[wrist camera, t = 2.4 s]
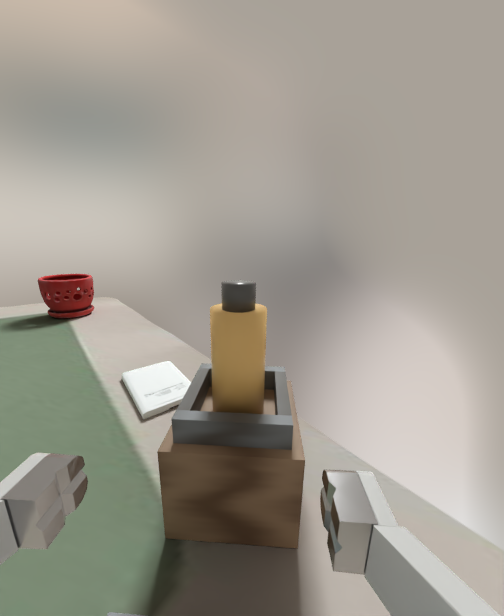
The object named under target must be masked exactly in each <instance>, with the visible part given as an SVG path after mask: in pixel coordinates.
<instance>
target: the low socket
mask: <svg viewBox="0 0 504 616" xmlns="http://www.w3.org/2000/svg"><path fill="white" fill-rule="evenodd" d="M107 616H146V615H135V614H124V613H114V612H108V615H107Z"/></svg>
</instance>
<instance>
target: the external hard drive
mask: <svg viewBox="0 0 504 616" xmlns="http://www.w3.org/2000/svg"><path fill="white" fill-rule="evenodd" d="M122 380H123V382H124V384H125V386H126V388H127V390H128V391H129V393H130V395H131V397H132V399H133V401H134V403H135V405H136V407H137V409H138V411H139V412H140V414H141V416H142V418H143V420H144V419H146V418H149V417H151V416H154V415H157V414H159V413H162V412H164V411H167V410H169V409H170V408H172V407H174V406H177V405H179V404H180V403H181V401H182V399H183V397H184V395H185V393H186V392H187V390H188V388H189V386H190V384H191V382H190V381H189V380H188V379H187V378H186V377H185V376H184V375H183V374H182V373H181V372H180V371H179V370H178V369H177V368H176V367H175V366H174V365H173V364H172V363H171V362H170V361H165V362H162V363H158V364H154V365H150V366H147V367H143V368H139V369H135V370H131V371H128V372H125V373H123V374H122Z"/></svg>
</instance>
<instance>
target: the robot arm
mask: <svg viewBox="0 0 504 616" xmlns="http://www.w3.org/2000/svg"><path fill="white" fill-rule="evenodd" d="M84 465H85V464H84V460H83V457H81V456H75V455H63V454H52V453H51V454H49V453H36V454H33V455H31V456H30V457H29V458H28V459H26V460H25V461H24V462H23V463H22V464H21V465H20V466H19V467H17V468H16V469H15V470H14V471H13V472H12V473H11V474H9V475H8V476H7V477H6V478H5V479H4V480H3V481H2V482H0V564H2V563H3V562H4V561H5V560H7V559H8V558H9V557H10V556H12V555H13V554H14V553H15V552H17V551H18V548H28V549H48V547H49V546H50V544H51V543H52V542H53V540H54V539H55V538H56V536H57V535H58V533H59V532H60V531H61V529H62V528H63V526H64V525H65V519H66V516H67V515H69V514H70V513H71V512H73V511H74V510H76V508H77V507H78V506H79V504H80V503H81V501H82V500H83V497H84V495H85V492H86V490H87V484H88V480H87V475H86V474H85V473H84V472H83V471H82V468H83V467H84ZM322 480H323V485H324V487H323V488H322V489H321V498H320V500H321V513H322V519H323V524H324V527H325V528H326V530H327V531H328V532H329V533H328V542H327V544H328V548H329V553H330V558H331V562H332V567H333V571H336V572H345V573H354V574H363V575H365V578H366V580H367V581H368V582H369V584H370V585H371V587H372V588H373V590H374V591H375V593H376V594H377V595H378V597H379V598H380V600H381V601H382V603H383V604H384V606H385V607H386V609H387V610H388V611H389V613H390V614H391V616H500V615H499V614H498V613H497V612H496V611H494V610H493V609H492V608H491V607H490V606H489V605H488V604H487V603H486V602H485V601H484V600H483V599H482V598H480V597H479V596H478V595H477V594H476V593H475V592H474V591H473V590H472V589H471V588H470V587H469V586H468V585H467V584H465V583H464V582H463V581H462V580H461V579H460V578H459V577H458V576H457V575H456V574H455V573H454V572H453V571H451V570H450V569H449V568H448V567H447V566H446V565H445V564H444V563H443V562H442V561H441V560H440V559H439V558H438V557H436V556H435V555H434V554H433V553H432V552H431V551H430V550H429V549H428V548H427V547H426V546H425V545H424V544H422V543H421V542H420V541H419V540H418V539H417V538H416V537H415V536H414V535H413V534H412V533H411V532H410V531H409V530H407V529H406V528H405V527H400V526H399V525H398V523H397V521H396V519H395V516H394V514H393V512H392V510H391V508H390V506H389V504H388V502H387V500H386V498H385V496H384V494H383V492H382V490H381V487H380V485H379V483H378V481H377V479H376V477H375V475H374V474H373V473H372V472H366V471H347V470H325V469H324V471H323V476H322Z"/></svg>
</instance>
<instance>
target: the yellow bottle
mask: <svg viewBox="0 0 504 616" xmlns="http://www.w3.org/2000/svg"><path fill="white" fill-rule="evenodd" d="M255 296H256V283H255V282H252V281H239V280H238V281H224V282H222V303H221V304H217V305H214V306H212V307H211V308H210V324H211V365H212V406H213V412H229V413H249V414H263V411H264V382H265V350H266V322H267V319H266V318H267V308H266V307H265V306H263V305H260V304H255V301H256V300H255V298H256V297H255Z"/></svg>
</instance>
